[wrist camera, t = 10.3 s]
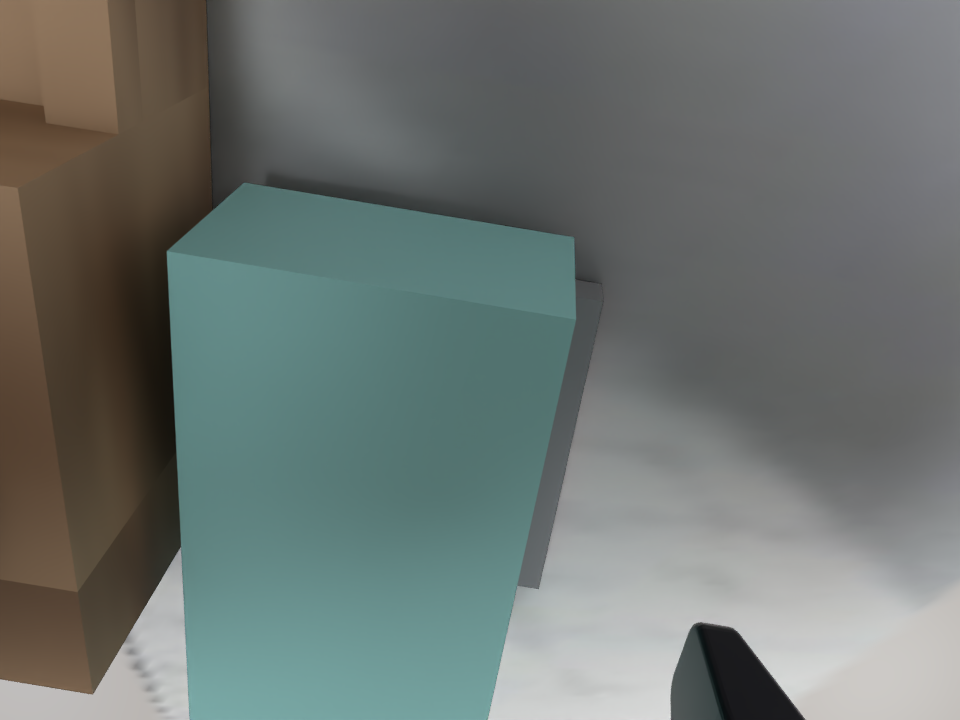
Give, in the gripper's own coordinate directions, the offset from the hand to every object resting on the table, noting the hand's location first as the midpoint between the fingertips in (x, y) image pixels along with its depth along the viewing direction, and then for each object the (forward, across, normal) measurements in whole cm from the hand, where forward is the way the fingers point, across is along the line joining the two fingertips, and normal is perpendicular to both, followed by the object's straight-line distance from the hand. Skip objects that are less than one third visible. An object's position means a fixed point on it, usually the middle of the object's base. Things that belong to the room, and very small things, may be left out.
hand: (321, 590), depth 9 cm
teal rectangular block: (+4, 0, +1) cm, 5 cm away
